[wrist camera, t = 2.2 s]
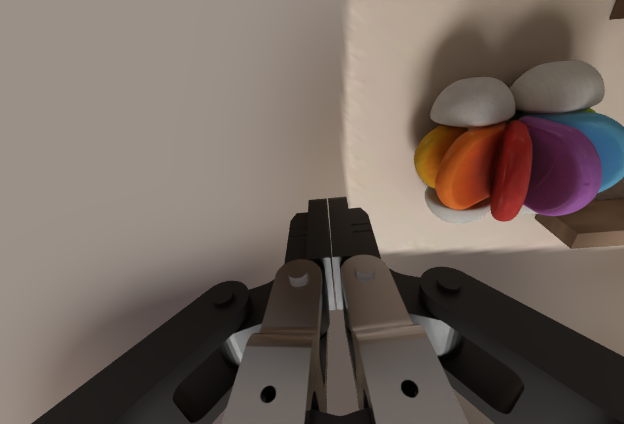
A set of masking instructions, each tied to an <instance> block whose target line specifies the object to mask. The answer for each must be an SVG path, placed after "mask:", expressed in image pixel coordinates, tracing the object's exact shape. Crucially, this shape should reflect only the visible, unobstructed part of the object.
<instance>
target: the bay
mask: <svg viewBox="0 0 624 424" xmlns="http://www.w3.org/2000/svg"><path fill="white" fill-rule="evenodd" d="M623 18H624V0H617V1H616V4H615V6H614V9H613V12H612V14H611V17H610V19H623ZM535 219H536V220H537V221H538V222H539V223H540V224H542V225H543V226H544V227H545V228H547V229H548V230H549V231H550V232H551V233H553V234H554V235H555V236H556V237H557V238H559V239H560V240H561V241H562V242H563V243H565V244H566V245H567V246H568V247H569V248H571V249H574V248H589V247H603V246H618V245H624V198H623V199H610V200H598V201H591V202H590V203H588V204H587V205H586V206H585V207H583V208H581V209H580V210H578V211H575V212H573V213H570V214H566V215H560V216H547V215H542V214H537V215H536V217H535Z"/></svg>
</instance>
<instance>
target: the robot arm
mask: <svg viewBox="0 0 624 424" xmlns="http://www.w3.org/2000/svg"><path fill="white" fill-rule="evenodd" d="M328 203H329V216H330V229H331V240H330V229H329V218H328V208H327V199H316V200H309V206H308V212H307V213H297V214H296V215H295V216H294V217H293V219H292V220H291V222H290V229H289V230H290V231H289V236H288V243H287V250H286V257H285V264H284V265H283V266H282V267H281V268H280V269H279V270H278V271H277V273H276V275H275V279H274V280H273V281H271V282H269V283H267V284H265V285H262V286H259V287H256V288H253V289H250V290H248V288H247V287H246V285H244V284H243V283H241V282H238V281H226V282H222V283H219V284H217V285H215V286H213V287H212V288H210V289H209V290H208V291H206V292H205V293H204V294H202V295H201V296H200V297H198V298H197V299H196V300H195V301H193V302H192V303H191V304H189V305H188V306H187V307H185V308H184V309H183V310H181V311H180V312H179V313H177V314H176V315H175V316H173V317H172V318H171V319H169V320H168V321H167V322H165V323H164V324H163V325H161V326H160V327H159V328H157V329H156V330H155V331H153V332H152V333H151V334H149V335H148V336H147V337H146V338H144V339H143V340H142V341H140V342H139V343H138V344H136V345H135V346H134V347H132V348H131V349H130V350H128V351H127V352H126V353H124V354H123V355H122V356H120V357H119V358H118V359H116V360H115V361H114V362H112V363H111V364H110V365H108V366H107V367H106V368H104V369H103V370H102V371H100V372H99V373H98V374H97V375H95V376H94V377H93V378H91V379H90V380H89V381H87V382H86V383H85V384H83V385H82V386H81V387H79V388H78V389H77V390H76V391H74V392H73V393H71V394H70V395H69V396H67V397H66V398H65V399H63V400H62V401H61V402H59V403H58V404H57V405H55V406H54V407H53V408H52V409H50V410H49V411H48V412H46V413H45V414H44V415H42V416H41V417H40V418H38V419H37V420H36V421H34V422H33V423H32V424H212V423H213V422H214V421H215V419H216V418H217V417H218V416H219V415H220V414H221V413H222V412H223V411H224V409H225V408H226V407H227V408H226V411H225V414H224V418H223V421H222V424H468V422H467V420H466V417H465V415H464V413H463V411H462V409H461V406H460V404H459V403H458V400H457V398H456V396H455V394H454V391H453V389H452V387H453V388H454V389H455V390H456V391H457V392H458V393H459V394H461V395H462V396H463V397H464V398H466V399H467V400H468V401H469V402H470V403H471V404H472V405H474V406H475V407H476V408H477V409H479V410H480V411H481V412H482V413H483V414H484V415H486V416H487V417H488V418H489V419H490V420H491V421H492V422H494V423H495V424H624V357H623V356H621V355H620V354H617V353H615V352H614V351H612V350H610V349H608V348H606V347H604V346H602V345H600V344H599V343H596V342H595V341H593V340H591V339H589V338H587V337H585V336H583V335H581V334H579V333H578V332H576V331H574V330H572V329H570V328H568V327H566V326H564V325H562V324H560V323H559V322H556V321H555V320H553V319H551V318H549V317H547V316H545V315H543V314H541V313H539V312H538V311H536V310H534V309H532V308H530V307H528V306H526V305H524V304H522V303H520V302H519V301H517V300H515V299H513V298H511V297H509V296H507V295H505V294H503V293H501V292H500V291H498V290H495V289H494V288H492V287H490V286H488V285H486V284H484V283H482V282H480V281H478V280H476V279H475V278H473V277H471V276H469V275H467V274H465V273H463V272H461V271H459V270H456V269H453V268H449V267H435V268H431V269H429V270H427V271H425V272H424V273H423V274H422V276H421V278H420V277H414V276H408V275H403V274H400V273H397V272H394V271H393V270H391V269H389V268H388V266H387V264H386V263H385V262H384V261H383V260H381V257H380V254H379V250H378V247H377V243H376V240H375V237H374V233H373V231H372V226H371V224H370V220H369V216H368V214H367V213H366V212H365V211H364V210H362V209H361V208H351V209H348V204H347V199H346V197H338V198H328ZM331 244H332V254H331ZM332 257H333V268H334V278H335V289H336V299H337V309H343V311H344V320H345V333H346V338H347V343H348V349H349V355H350V360H351V365H352V371H353V376H354V382H355V387H356V393H357V401H358V409H359V411H356V412H353V413H350V414H347V415H344V416H335V415H331V414H328V413H327V370H328V346H329V324H330V318H329V310H335V297H334V282H333V268H332Z"/></svg>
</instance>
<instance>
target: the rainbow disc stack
mask: <svg viewBox="0 0 624 424" xmlns="http://www.w3.org/2000/svg"><path fill="white" fill-rule="evenodd" d="M604 92H605V89H604V83H603V79H602V77H601V75H600V74H599V72H598V71H597V70H596V69H595V68H594V67H592V66H591V65H589V64H588V63H585V62H582V61H557V62H549V63H544V64H540V65H537V66H535V67H533V68H531V69H530V70H528V71H527V72H525V73H524V74H523V75H521V76H520V77H519V78H518V79H517V80H516V81H515V82H514V83H513V85H512V86H511V87H510V89H509V88H508V87H507V85H506V84H504V83H503V82H502V81H500V80H499V79H496V78H492V77H473V78H466V79H461V80H458V81H455V82H453V83H452V84H450V85H449V86H448V87H446V88H445V89H444V90H443V91H442V92H441V93H440V95H439V96H438V97H437V99H436V100H435V102H434V104H433V107H432V109H431V113H430V117H431V119H432V120H433V121H435V122H436V123H439V124H441V125H439V126H438V127H436V128H435V129H433V130H432V131H431V132H429V133H428V134H427V135H426V136H425V137H424V138H423V139H422V141H421V142H420V144H419V145H418V147H417V149H416V152H415V155H414V164H415V168H416V171H417V173H418V175H419V177H420V178H421V179H422V180H423V181H424V182H425V183H426V184H427V185H428V187H427V189H426V191H425V200H426V203H427V205H428V207H429V209H430V210H431V212H432V213H433V214H434V215H435V216H437V217H438V218H440V219H441V220H444V221H446V222H449V223H454V224H465V223H470V222H473V221H476V220H478V219H480V218H481V217H483V216H484V215H485V214H487V213H488V212H489V210H491V214H492V216H493V217H494V218H495V219H496V220H498V221H510V220H512V219H513V218H514V217H515V216H516V215H517V214H518V213H522V214H542V215H547V216H560V215H566V214H570V213H573V212H575V211H578V210H580V209H581V208H583V207H585V206H586V205H587V204H588V203H590V202H591V201H592V200H593V198H594V197H595V196H596V195H597V193H599V192H602V191H604V190H606V189H608V188H610V187H611V186H613V185H614V184H616V183H617V182H619V181H620V180H621V179H622V178H623V177H624V127H623V126H622V125H621V124H620V123H618V122H617V121H615V120H613V119H612V118H609V117H607V116H605V115H602V114H599V113H596V112H595V111H594V110H592V109H590V107H592V106H594V105H596V104H598V103H600V102H601V101H602V99H603V97H604ZM508 119H509V122H507V123H506V122H505V121H506V120H508Z"/></svg>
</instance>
